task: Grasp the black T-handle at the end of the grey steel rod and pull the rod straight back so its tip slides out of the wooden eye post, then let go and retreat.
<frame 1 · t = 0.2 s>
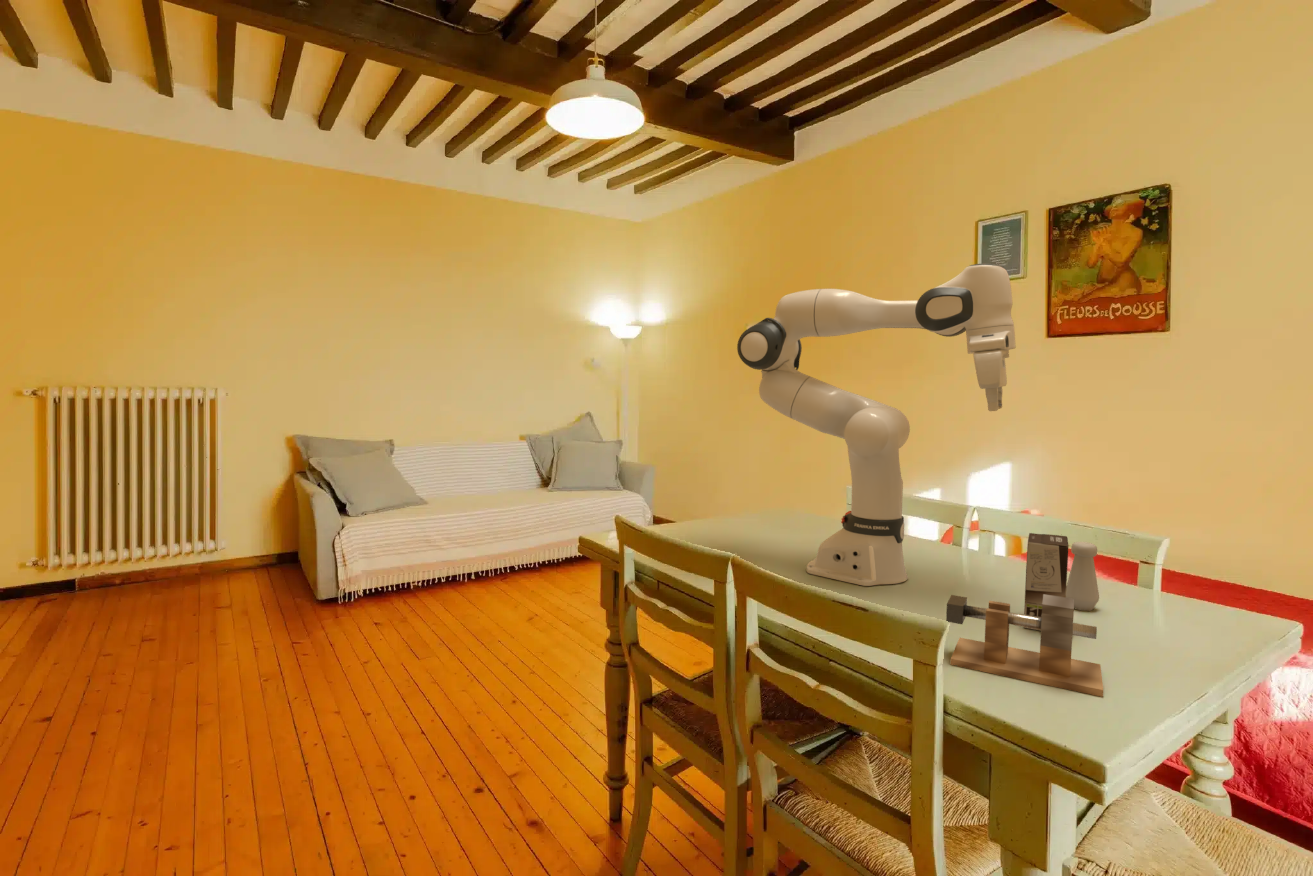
hand: (995, 409, 134), 39 cm above the table, tool pointing down, fingers open, 8 cm apart
salt shaker: (1080, 608, 129), on the table
hook rod: (1018, 619, 102), point 8 cm above the table, slide at 0.0 cm
coffee box: (1043, 624, 120), on the table
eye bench: (1054, 673, 100), on the table
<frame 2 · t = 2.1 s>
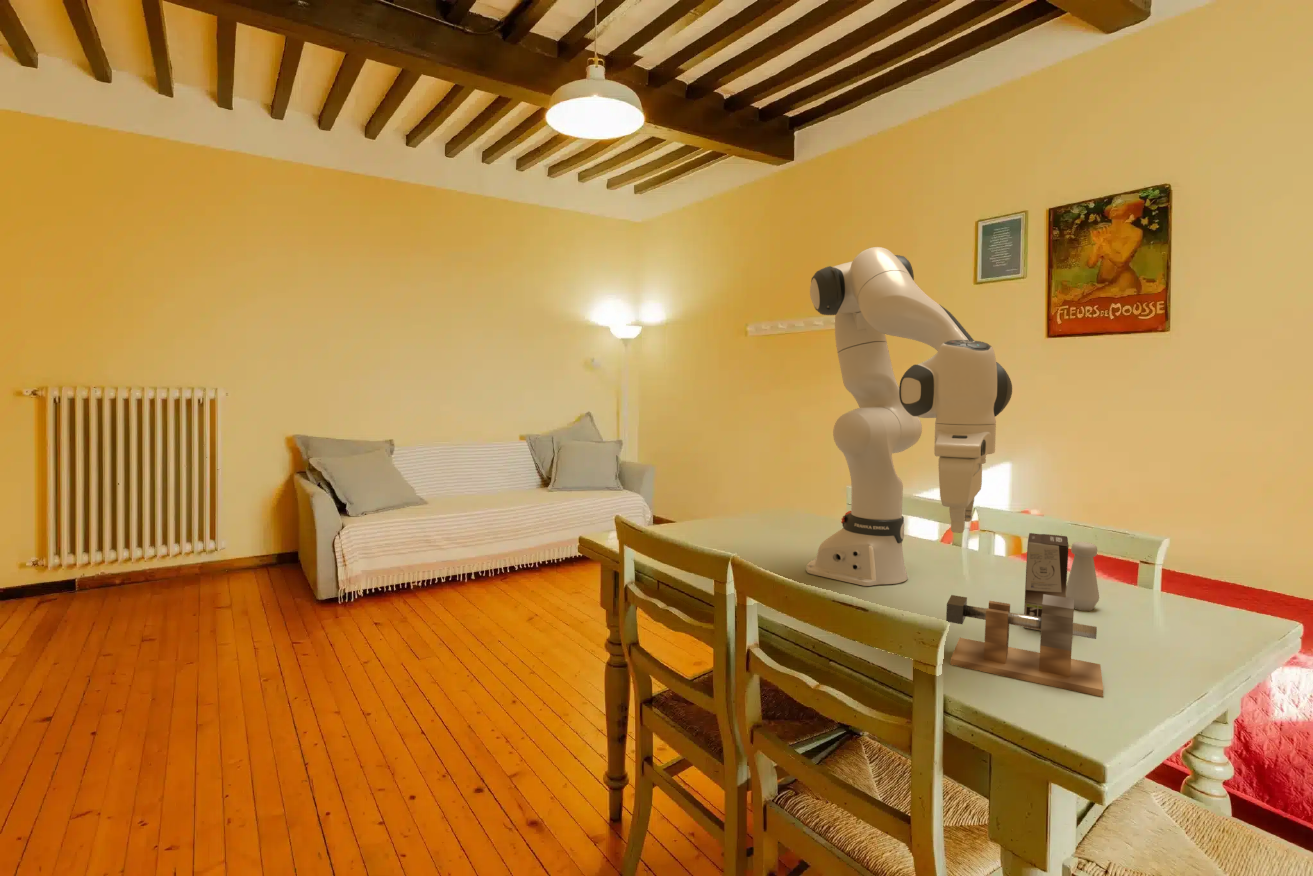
hand: (961, 526, 106), 21 cm above the table, tool pointing down, fingers open, 8 cm apart
nothing on the table moved.
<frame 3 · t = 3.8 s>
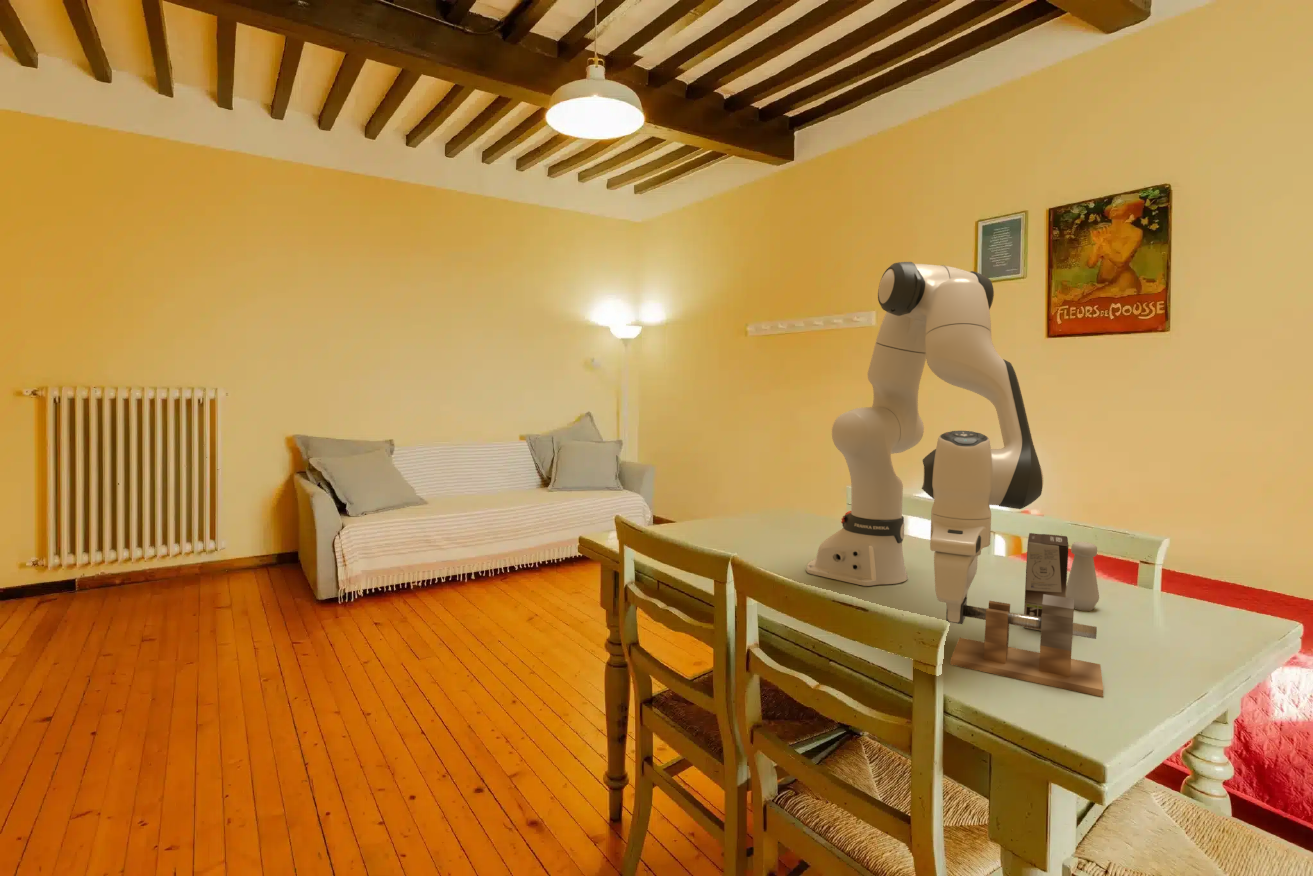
hand: (956, 614, 107), 7 cm above the table, tool pointing down, fingers closed on hook rod, 5 cm apart
hook rod: (1018, 619, 102), point 7 cm above the table, slide at 0.0 cm, touching gripper
everything else where it was.
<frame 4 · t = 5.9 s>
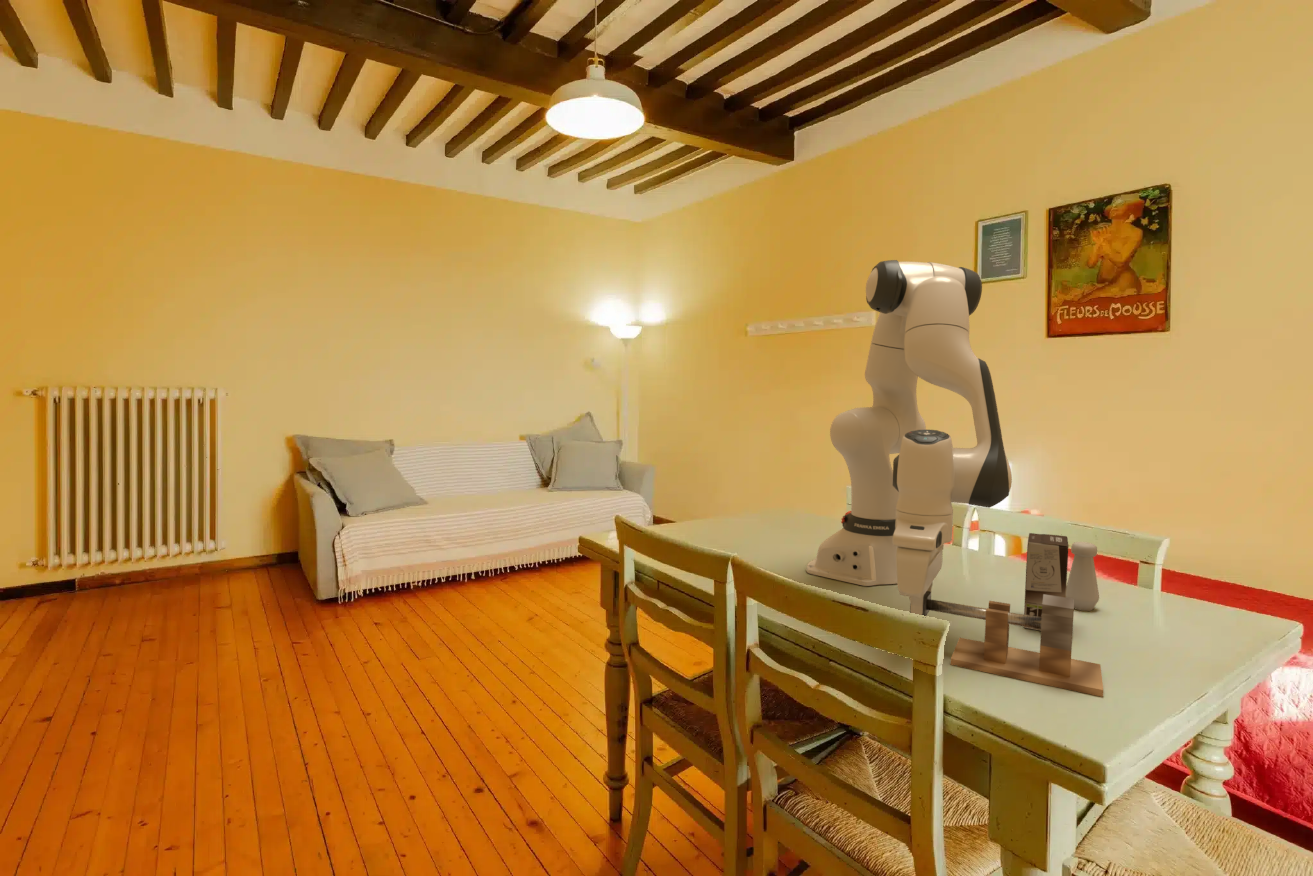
hand: (920, 608, 110), 7 cm above the table, tool pointing down, fingers closed on hook rod, 5 cm apart
hook rod: (979, 613, 105), point 8 cm above the table, slide at 5.6 cm, touching gripper
everything else where it was.
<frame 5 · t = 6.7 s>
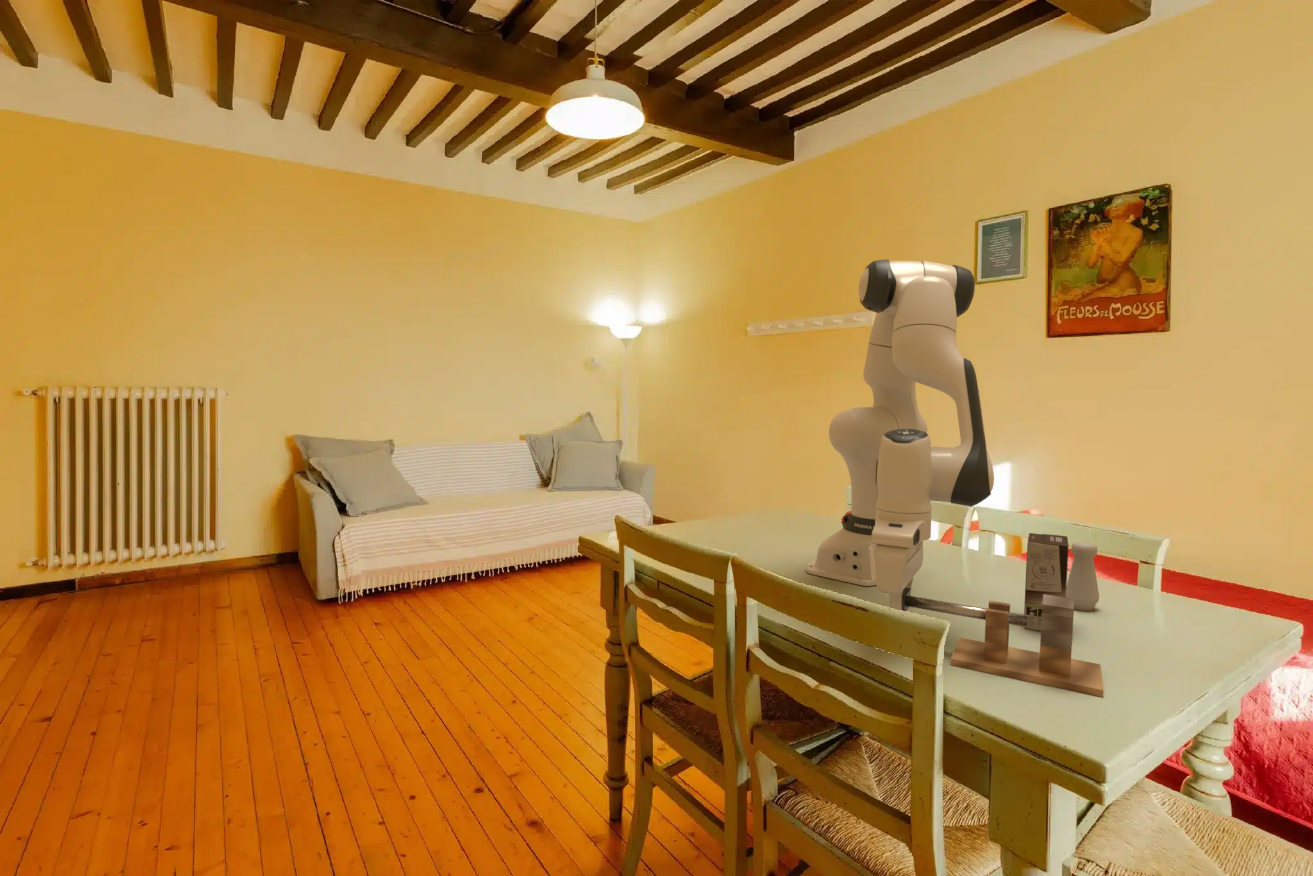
hand: (900, 604, 112), 7 cm above the table, tool pointing down, fingers closed on hook rod, 5 cm apart
hook rod: (957, 609, 107), point 8 cm above the table, slide at 8.9 cm, touching gripper
everything else where it was.
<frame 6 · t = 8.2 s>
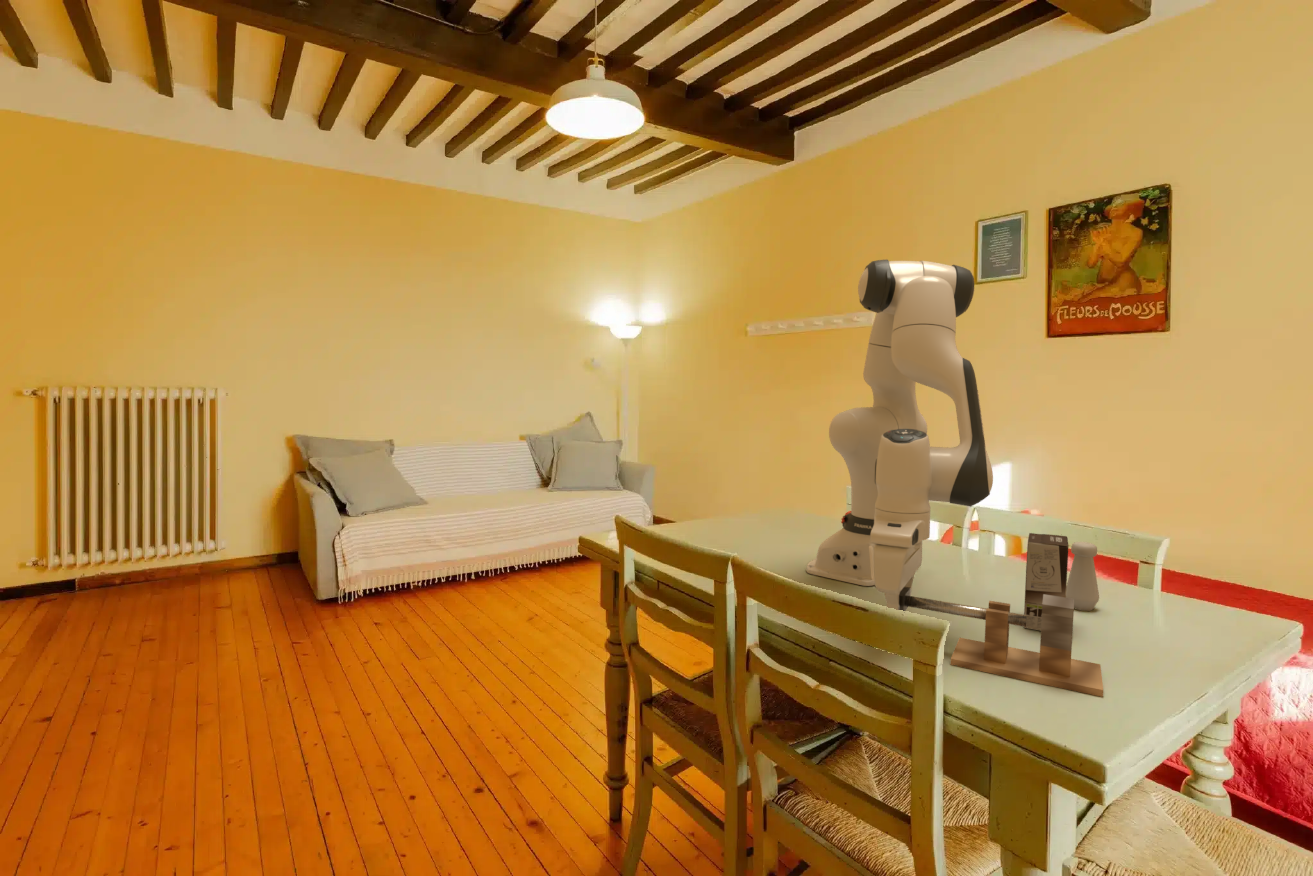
hand: (899, 604, 112), 7 cm above the table, tool pointing down, fingers open, 8 cm apart
hook rod: (955, 609, 107), point 7 cm above the table, slide at 9.0 cm
everything else where it was.
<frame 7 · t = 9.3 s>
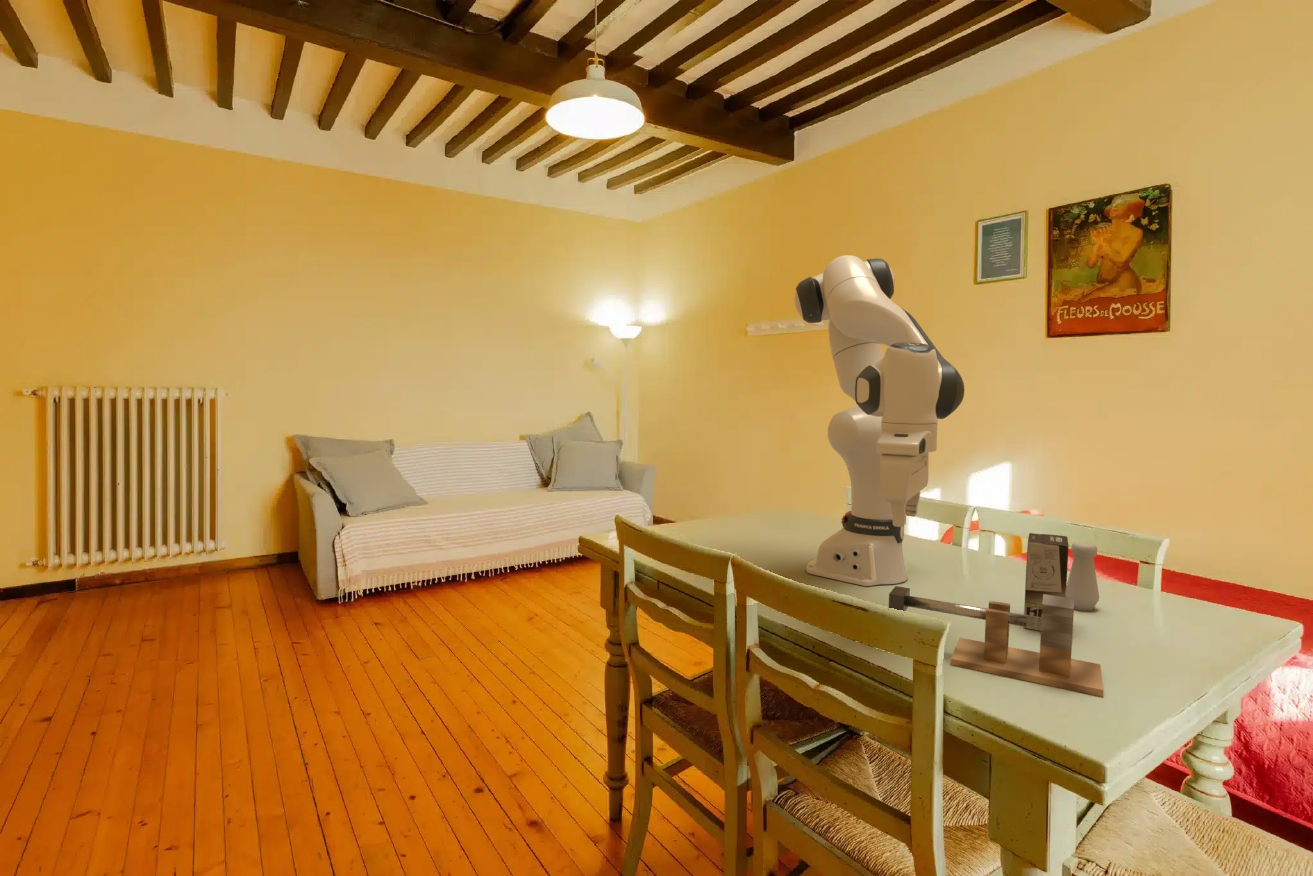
hand: (905, 520, 110), 21 cm above the table, tool pointing down, fingers open, 8 cm apart
nothing on the table moved.
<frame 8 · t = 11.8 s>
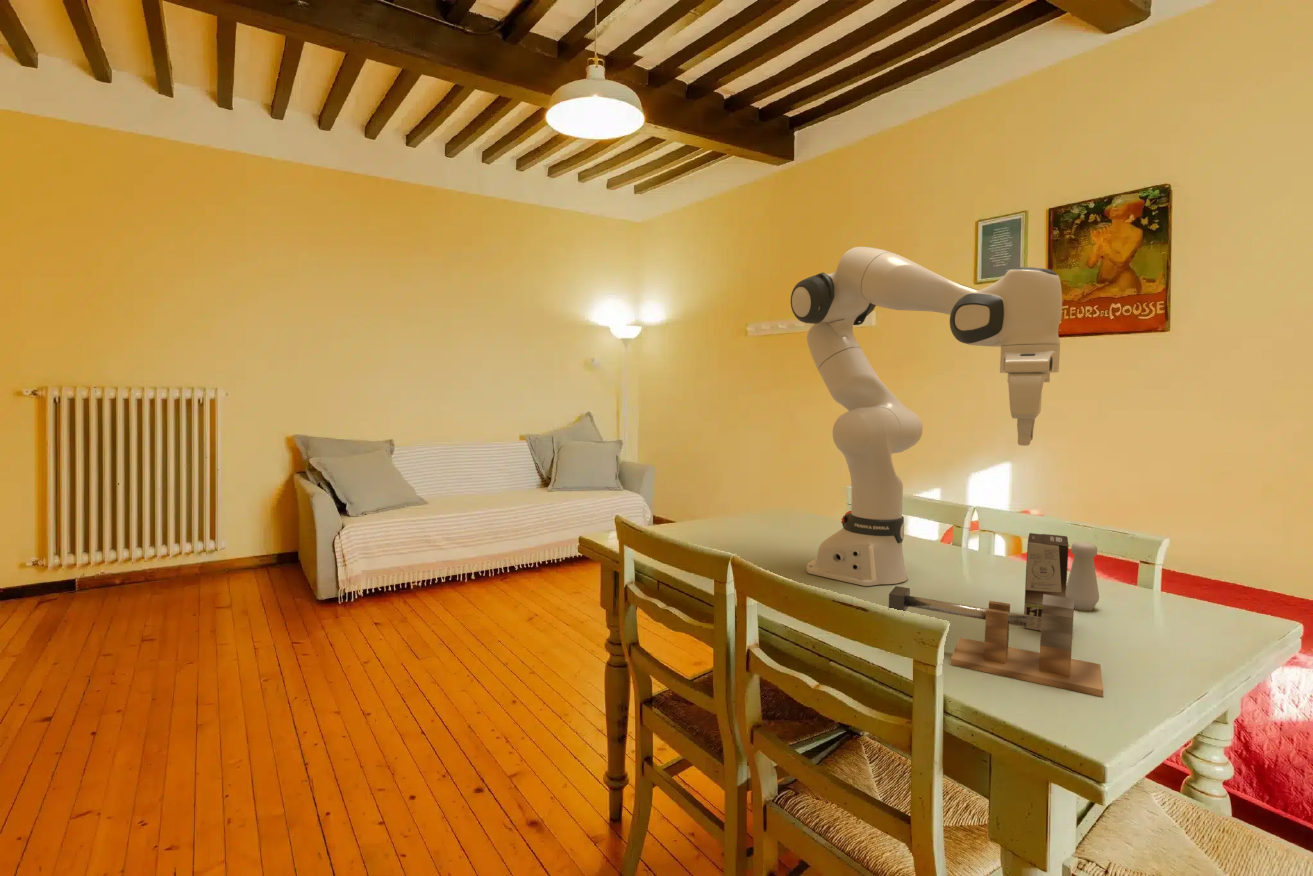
hand: (1025, 442, 113), 34 cm above the table, tool pointing down, fingers open, 8 cm apart
nothing on the table moved.
at the end: hook rod slide at 9.0 cm; the gripper is holding nothing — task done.
